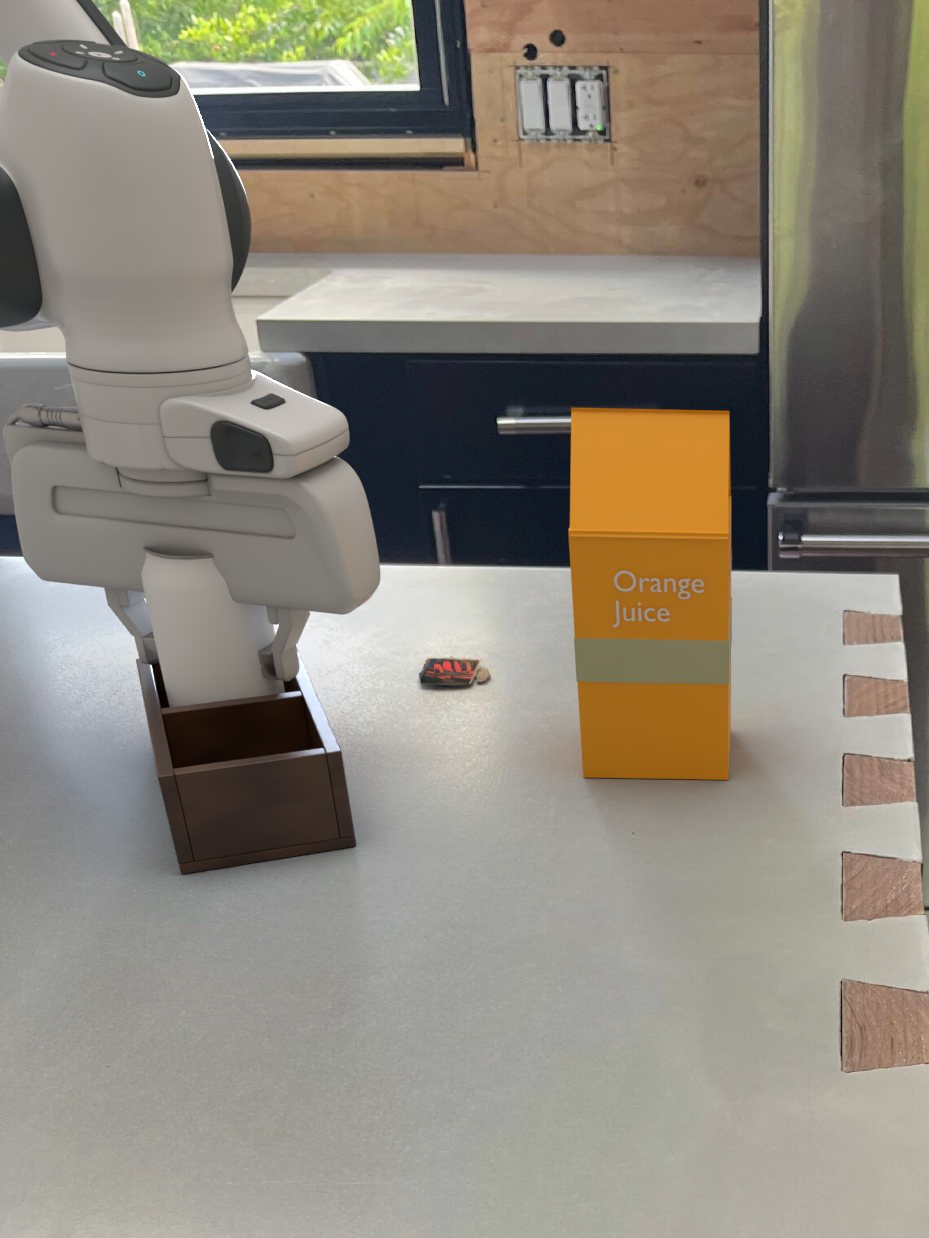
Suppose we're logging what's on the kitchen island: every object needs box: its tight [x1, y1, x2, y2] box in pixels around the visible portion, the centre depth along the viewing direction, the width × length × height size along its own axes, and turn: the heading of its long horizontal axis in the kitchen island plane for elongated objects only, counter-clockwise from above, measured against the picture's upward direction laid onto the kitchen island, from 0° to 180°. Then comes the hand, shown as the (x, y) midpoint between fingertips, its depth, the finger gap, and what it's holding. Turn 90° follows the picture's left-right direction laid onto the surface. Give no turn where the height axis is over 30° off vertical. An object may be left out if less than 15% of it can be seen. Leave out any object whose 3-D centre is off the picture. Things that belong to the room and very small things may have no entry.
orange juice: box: [567, 407, 733, 781], centre depth 86 cm, size 8×9×20 cm
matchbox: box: [418, 655, 491, 686], centre depth 101 cm, size 5×5×1 cm
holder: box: [135, 646, 357, 875], centre depth 85 cm, size 9×17×6 cm, turn 23°
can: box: [141, 547, 285, 707], centre depth 85 cm, size 6×6×12 cm
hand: (221, 669), depth 86 cm, fingers closed on can, 6 cm apart
